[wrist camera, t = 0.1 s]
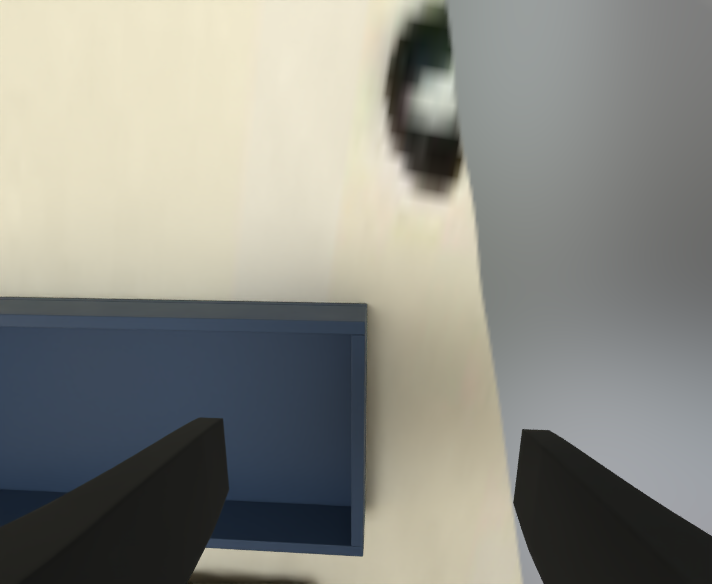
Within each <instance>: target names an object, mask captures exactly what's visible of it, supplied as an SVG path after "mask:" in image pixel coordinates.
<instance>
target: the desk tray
mask: <svg viewBox="0 0 712 584" xmlns="http://www.w3.org/2000/svg"><path fill="white" fill-rule="evenodd" d="M366 386H367V304H361V303H306V302H252V301H197V300H142V299H87V298H32V297H0V527H1V526H3V525H5V524H7V523H10V522H12V521H14V520H16V519H18V518H20V517H22V516H24V515H26V514H28V513H30V512H32V511H34V510H36V509H38V508H40V507H42V506H44V505H46V504H48V503H50V502H52V501H53V500H55V499H57V498H59V497H61V496H63V495H65V494H66V493H68V492H70V491H72V490H74V489H75V488H77V487H79V486H81V485H83V484H84V483H86V482H88V481H90V480H92V479H93V478H95V477H97V476H99V475H101V474H102V473H104V472H106V471H108V470H109V469H111V468H113V467H115V466H116V465H118V464H120V463H122V462H123V461H125V460H127V459H128V458H130V457H132V456H133V455H135V454H137V453H138V452H140V451H142V450H143V449H145V448H147V447H148V446H150V445H152V444H153V443H155V442H157V441H158V440H160V439H162V438H163V437H165V436H167V435H168V434H170V433H172V432H173V431H175V430H177V429H178V428H180V427H182V426H184V425H185V424H187V423H189V422H191V421H193V420H195V419H197V418H199V417H202V418H223V423H224V435H225V446H226V458H227V469H228V481H229V492H228V494H227V497H226V500H225V502H224V505H223V508H222V511H221V513H220V516H219V518H218V521H217V523H216V526H215V529H214V531H213V533H212V535H211V537H210V539H209V541H208V543H207V545H206V547H205V548H221V549H238V550H256V551H274V552H291V553H309V554H327V555H344V556H363V548H364V525H365V480H366Z"/></svg>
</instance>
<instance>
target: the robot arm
mask: <svg viewBox="0 0 712 584" xmlns="http://www.w3.org/2000/svg"><path fill="white" fill-rule="evenodd" d="M228 492H229V481H228V469H227V458H226V446H225V435H224V423H223V418H202V417H199V418H197V419H195V420H193V421H191V422H189V423H187V424H185V425H184V426H182V427H180V428H178V429H177V430H175V431H173V432H172V433H170V434H168V435H167V436H165V437H163V438H162V439H160V440H158V441H157V442H155V443H153V444H152V445H150V446H148V447H147V448H145V449H143V450H142V451H140V452H138V453H137V454H135V455H133V456H132V457H130V458H128V459H127V460H125V461H123V462H122V463H120V464H118V465H116V466H115V467H113V468H111V469H109V470H108V471H106V472H104V473H102V474H101V475H99V476H97V477H95V478H93V479H92V480H90V481H88V482H86V483H84V484H83V485H81V486H79V487H77V488H75V489H74V490H72V491H70V492H68V493H66V494H65V495H63V496H61V497H59V498H57V499H55V500H53V501H52V502H50V503H48V504H46V505H44V506H42V507H40V508H38V509H36V510H34V511H32V512H30V513H28V514H26V515H24V516H22V517H20V518H18V519H16V520H14V521H12V522H10V523H7V524H5V525H3V526H1V527H0V584H187V582H188V580H189V578H190V576H191V574H192V573H193V571H194V569H195V567H196V565H197V563H198V561H199V559H200V557H201V555H202V553H203V551H204V549H205V547H206V545H207V543H208V541H209V539H210V537H211V535H212V533H213V531H214V529H215V526H216V523H217V521H218V518H219V516H220V513H221V511H222V508H223V505H224V502H225V500H226V497H227V494H228ZM513 503H514V506H515V510H516V513H517V516H518V519H519V522H520V526H521V529H522V532H523V535H524V538H525V541H526V544H527V547H528V550H529V552H530V554H531V556H532V559H533V561H534V563H535V566H536V568H537V570H538V572H539V574H540V577H541V579H542V581H543V583H544V584H712V536H711V535H709V534H707V533H706V532H704V531H703V530H701V529H700V528H698V527H696V526H695V525H693V524H691V523H690V522H688V521H687V520H685V519H683V518H682V517H680V516H678V515H677V514H675V513H674V512H672V511H670V510H669V509H667V508H666V507H664V506H663V505H661V504H659V503H658V502H656V501H655V500H653V499H652V498H650V497H649V496H647V495H646V494H644V493H643V492H641V491H640V490H638V489H636V488H635V487H633V486H632V485H631V484H629V483H627V482H626V481H624V480H623V479H622V478H620V477H619V476H617V475H615V474H614V473H613V472H611V471H610V470H608V469H607V468H605V467H604V466H603V465H601V464H600V463H598V462H596V461H595V460H594V459H592V458H591V457H589V456H588V455H586V454H585V453H583V452H582V451H581V450H579V449H578V448H576V447H574V446H573V445H572V444H570V443H569V442H567V441H566V440H564V439H563V438H561V437H559V436H558V435H556V434H554V433H553V432H551V431H549V430H527V429H523V430H522V436H521V444H520V452H519V461H518V470H517V478H516V487H515V494H514V502H513Z"/></svg>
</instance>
